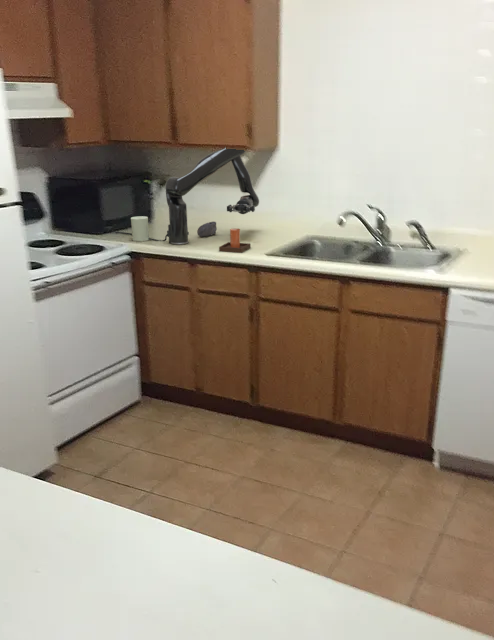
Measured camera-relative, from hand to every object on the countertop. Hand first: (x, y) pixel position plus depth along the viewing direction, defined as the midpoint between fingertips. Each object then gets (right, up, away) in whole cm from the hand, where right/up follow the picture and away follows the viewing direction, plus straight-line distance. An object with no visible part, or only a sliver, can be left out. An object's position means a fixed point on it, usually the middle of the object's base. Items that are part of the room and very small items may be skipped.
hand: (238, 210), depth 340 cm
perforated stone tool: (-17, -7, +26) cm, 32 cm away
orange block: (-2, -20, -7) cm, 22 cm away
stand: (-2, -21, -7) cm, 22 cm away
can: (-53, -11, +19) cm, 57 cm away
